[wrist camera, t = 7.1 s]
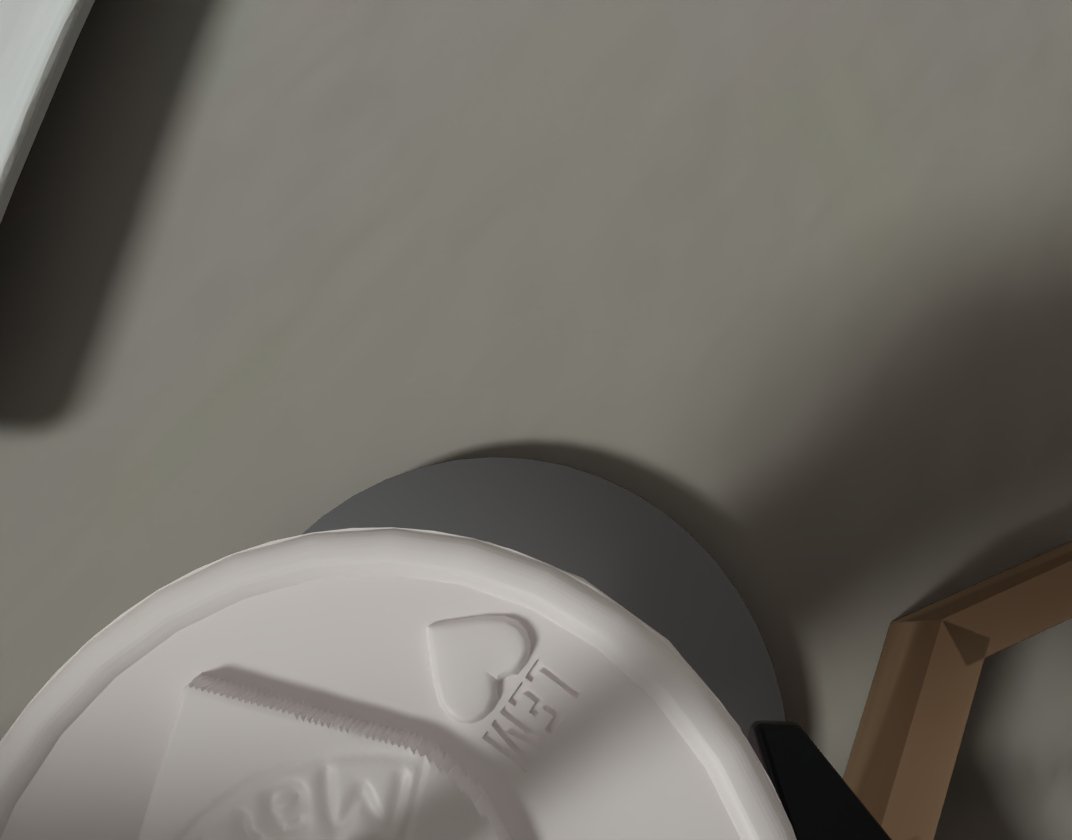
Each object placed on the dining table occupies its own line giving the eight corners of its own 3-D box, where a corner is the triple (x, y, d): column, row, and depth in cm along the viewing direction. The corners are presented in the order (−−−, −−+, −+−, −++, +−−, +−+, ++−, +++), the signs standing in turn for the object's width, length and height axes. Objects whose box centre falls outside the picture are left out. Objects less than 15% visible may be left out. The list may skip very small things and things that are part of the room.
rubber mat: (328, 1169, 19) (316, 1197, 18) (144, 592, 22) (125, 589, 21) (881, 906, 20) (896, 918, 19) (633, 384, 23) (636, 373, 22)
